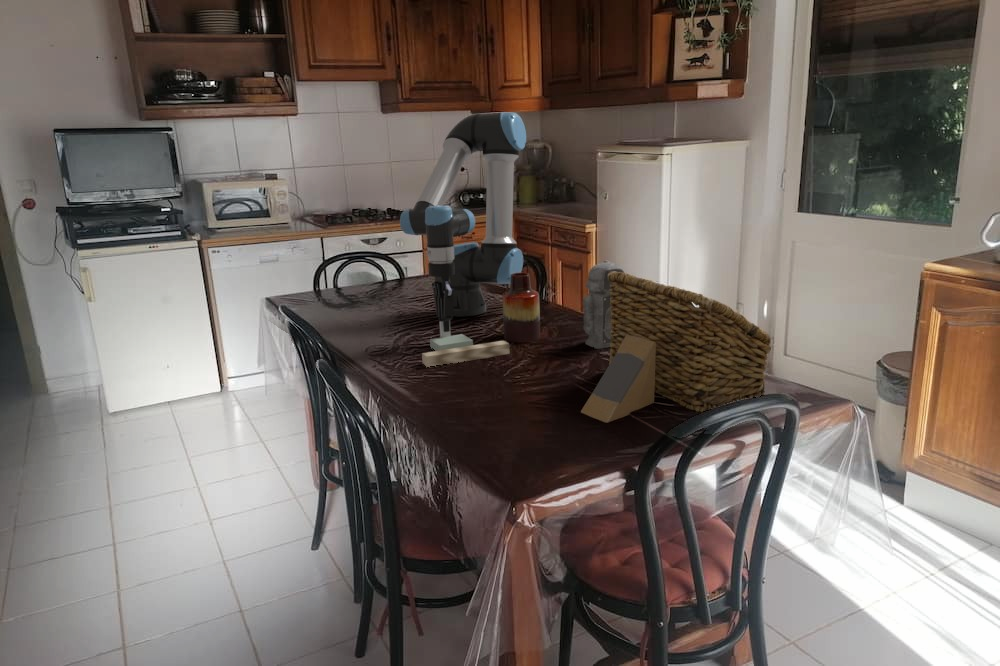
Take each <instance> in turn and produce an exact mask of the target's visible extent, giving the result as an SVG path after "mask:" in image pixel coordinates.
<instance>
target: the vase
mask: <svg viewBox="0 0 1000 666" xmlns="http://www.w3.org/2000/svg"><path fill="white" fill-rule="evenodd" d="M509 286H510V287H509V288H510V289H509V290H507V291H505V292H503V294H502V321H503V322H502V323H503V339H504V341H506V342H507V341H508V342H510V343H511V342H512V343H520V344H521V343H530V342H531V343H532V342H535V341H538V340H540V339H541V321H540V320H541V316H540V315H541V314H540V312H541V310H540V294H539V292H538V291H536V290H534V289H532V286H531V278H530V273H528V272H521V273H513V274H511V283H510V284H509Z"/></svg>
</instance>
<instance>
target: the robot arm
mask: <svg viewBox="0 0 1000 666" xmlns="http://www.w3.org/2000/svg"><path fill="white" fill-rule="evenodd" d="M526 144H527V131H526V128H525V124H524V122H523V119H522V117H521V116H520V115H519V114H518V113H516V112H512V111H511V112H507V111H500V112H489V113H474V114H470V115H467V116H466V117H465V118H463V119H461V120H460V121H459V122H458V123H457V124H455V126H453V128H452V129H451V130H450V132H448V134H447V135H446V137H445V138H444V140H443V143H442V149H443V150H442V152H441V153H440V156H439V158H438V160H437V162H436V164H435V166H434V168H433V170H432V171H431V174H430V175H429V178H428V180H427V181H426V183H425V185H424V187H423V189H422V191H421V194H420V195H419V197H418V199H417V201H416V202H415V204H414V207H413V208H410V209H409V208H408V209H405V210H403V211H402V212H401V214H400V217H399V226H400V229H401V230H402V232H403V233H404V234H406V235H412V236H413V235H414V236H426V248H427V249H426V251H425V254H426V255H427V260H428V261H429V262H428V263H427V265H428V266H427V268H428V275H429V276H430V277H433V278H434V281H433V282H431V287H432V291H433V300H434V306H435V314H436V316H437V318H438V321H439V334H440V335H439V338H440V337H447V336H452V333H451V320H454V319H453V317H459V318H461V317H473V316H478V315H482V314H484V313H486V312H487V303H486V301H485V298H484V295H483V293H482V290H481V284H496V285H510V283H511V274H513V273H522V270H523V266H524V255H523V251H522V250H521V249H519V248H518V247H517V246H518V245H517V244H518V243H517V241H516V240H515V239H514V237H513V216H514V215H513V214H514V211H513V210H514V175H515V174H514V173H515V172H514V170H515V168H514V165H515V161H516V160H518V158H519V157H520V151H522V150H523V149H525V147H526ZM476 152H482V158H483V159H484V160H485V162H486V211H485V215H486V216H485V237H484V238H483V240H481V241H480V245H479V243H478V242H464V243H459V244H455V243H454V238H456V237H461V236H466V235H468V234H470V233H472V232H473V230H474V229H475V227H476V217H475V215H474V213H473V212H472V211H470V209H466V208H457V209H452V207H451V206H450V205H444V203H445V202H446V200H447V198H448V196H449V193H450V192H451V190H452V188H453V186H454V184H455V181H456V180H457V178H458V175H459V173H460V172H461V169H462V167H463V165H464V163H465V162H466V161H468V160H469V159H470V158H471V156H472V155H473V153H476Z"/></svg>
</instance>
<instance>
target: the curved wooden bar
mask: <svg viewBox="0 0 1000 666" xmlns="http://www.w3.org/2000/svg"><path fill="white" fill-rule="evenodd" d="M510 353H511V352H510V343H509V341H508V342H507V340H498V341H492V342H485V343H478V344H473V345H472V346H465V347H459V348H453V349H446V350H440V351H434V350H433V351H428V352H422V353H421V358H422V365H423V364H424V365H425V366H426V367H425V366H424V365H423V366H424V367H425V368H427V367H429V368H431V367H430V366H435V367H437V366H436V365H441V366H444V365H443V364H447V365H451V364H450V363H453V364H457V363H458V362H459V363H463V362H464V361H465V362H469V361H475V360H481V359H487V358H493V357H500V356H503V355H504V356H505V355H510Z"/></svg>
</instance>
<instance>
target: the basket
mask: <svg viewBox="0 0 1000 666" xmlns="http://www.w3.org/2000/svg"><path fill="white" fill-rule="evenodd" d="M607 276H608V280H609V281H611V284H610V287H611V289H610V295H611V296H612V297H611V298H610V305H611V311H612V312H611V316H610V318H611V324H610V325H611V327H612V328H611V329H610V330H611V334H610V335H611V343H610V347H609V348H610V349H609V355H610V356H609V359H608V360H609V364H608V366H609V365H610V363H611V361H612V360H613V358H614V356H615V355H616V353H617V351H618V349H619V347H620V346H621V344H622V342H623V340H624V338H625V336H626V335H631V336H635V337H639V338H643V339H647V340H650V341H654V342H656V360H655V391H654V393H655V394H659V395H661V396H662V397H663V398H667V399H669V400H672V401H673V402H675V403H677V404H679V405H680V406H683V407H684V408H686V409H689V410H691V411H696V412H697V413H698V412H699V413H704V412H703V411H705V412H706V411H707V410H708V409H711V408H715V407H718V406H721V405H724V404H727V403H730V402H733V401H737V400H741V399H745V398H750V397H755V396H761V395H762V396H763V395H764V394H765V392H766V390H765V388H766V387H765V379H766V374H765V371H766V365H767V360H768V355H767V354H769V353H770V352H771V351H772V348H773V346H771V345H770V343H771V340H772V339H771V337H770V335H769V334H768V333H767V332H766V331H764V330H763V329H762V328H760V327H759V326H758V325H755V323H754V322H751V321H749V320H748V319H747V318H746V317H745V316H744V315H743V314H740V313H739V312H736V311H735V310H734V309H732V307H730V306H729V305H727V304H725V303H722V302H720V301H719V300H716V299H713V298H709V297H707V296H704V294H702V293H697V292H694V291H691V290H686V289H684V288H680V287H677V286H675V285H673V286H672V285H665V284H662V283H659V282H654V281H653V280H650V279H646V278H641V277H637V276H635V275H631V274H628V273H627V272H624V273H623V272H616V271H612V272H610V273H608V275H607ZM697 306H698V307H697ZM762 396H761V397H762ZM711 410H712V409H711Z"/></svg>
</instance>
